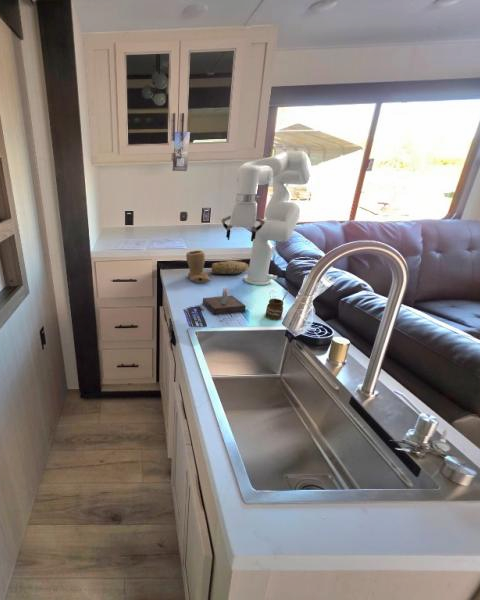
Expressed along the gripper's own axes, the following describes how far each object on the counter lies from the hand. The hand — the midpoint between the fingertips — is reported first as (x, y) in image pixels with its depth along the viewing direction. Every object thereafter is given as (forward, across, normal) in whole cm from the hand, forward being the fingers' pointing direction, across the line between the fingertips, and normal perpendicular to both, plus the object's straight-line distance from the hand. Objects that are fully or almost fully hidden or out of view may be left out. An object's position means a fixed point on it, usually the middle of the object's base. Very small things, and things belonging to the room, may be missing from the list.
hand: (240, 240), depth 135 cm
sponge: (+26, +2, -34) cm, 43 cm away
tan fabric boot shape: (+26, +18, -18) cm, 37 cm away
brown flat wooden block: (+26, +4, +15) cm, 30 cm away
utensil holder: (+26, -16, +17) cm, 36 cm away
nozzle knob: (+23, +3, +15) cm, 28 cm away
